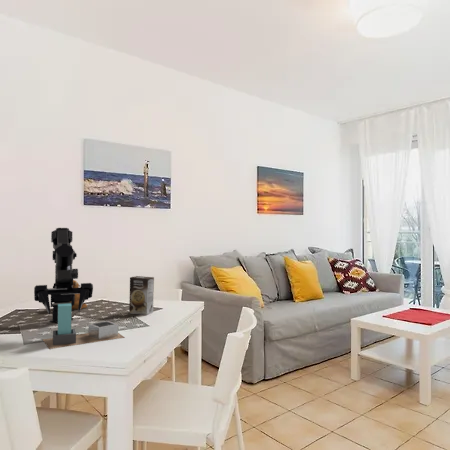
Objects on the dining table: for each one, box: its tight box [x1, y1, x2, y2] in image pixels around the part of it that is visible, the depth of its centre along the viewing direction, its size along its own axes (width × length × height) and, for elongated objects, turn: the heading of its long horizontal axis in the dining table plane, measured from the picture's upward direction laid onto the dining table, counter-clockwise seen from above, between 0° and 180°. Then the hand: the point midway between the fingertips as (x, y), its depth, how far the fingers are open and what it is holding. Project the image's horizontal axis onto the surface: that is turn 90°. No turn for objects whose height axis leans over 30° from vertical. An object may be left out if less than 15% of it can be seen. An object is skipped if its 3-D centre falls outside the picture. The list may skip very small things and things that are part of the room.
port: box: [88, 320, 119, 340], centre depth 136 cm, size 7×7×4 cm
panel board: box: [42, 332, 125, 350], centre depth 133 cm, size 24×12×1 cm, turn 124°
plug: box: [57, 303, 73, 335], centre depth 129 cm, size 4×4×12 cm
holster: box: [52, 328, 77, 345], centre depth 129 cm, size 7×7×3 cm
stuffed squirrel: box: [70, 279, 88, 311], centre depth 182 cm, size 10×14×13 cm
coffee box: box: [128, 275, 155, 316], centre depth 176 cm, size 9×6×16 cm
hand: (64, 312), depth 131 cm, fingers open, 9 cm apart
